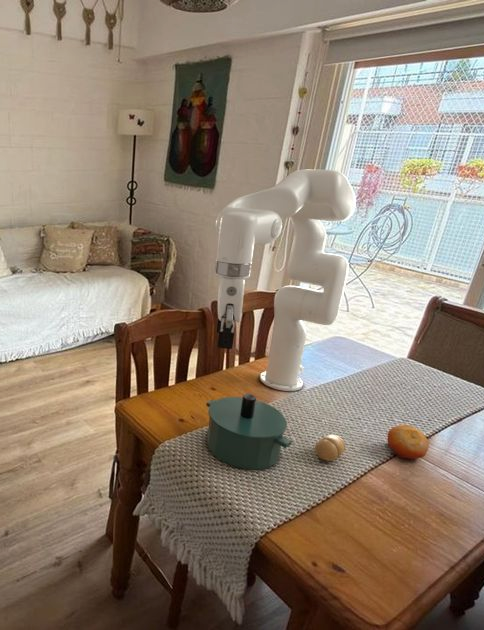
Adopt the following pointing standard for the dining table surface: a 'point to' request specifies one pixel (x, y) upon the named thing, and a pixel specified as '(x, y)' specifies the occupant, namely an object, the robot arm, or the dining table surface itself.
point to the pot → (244, 448)
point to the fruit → (407, 442)
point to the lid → (247, 417)
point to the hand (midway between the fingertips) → (223, 340)
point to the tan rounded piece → (330, 447)
